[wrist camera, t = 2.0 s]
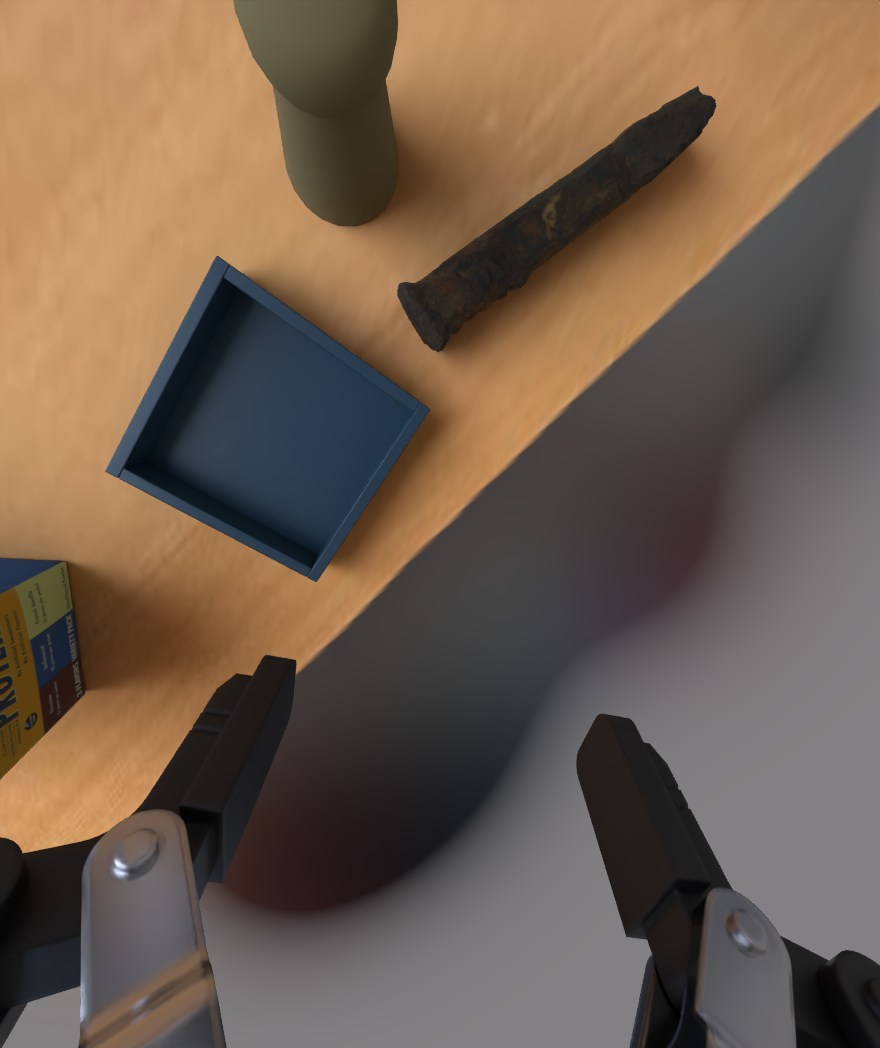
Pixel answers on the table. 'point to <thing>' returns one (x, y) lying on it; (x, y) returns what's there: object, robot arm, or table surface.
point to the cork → (330, 98)
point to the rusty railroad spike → (551, 220)
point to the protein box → (35, 654)
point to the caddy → (265, 426)
